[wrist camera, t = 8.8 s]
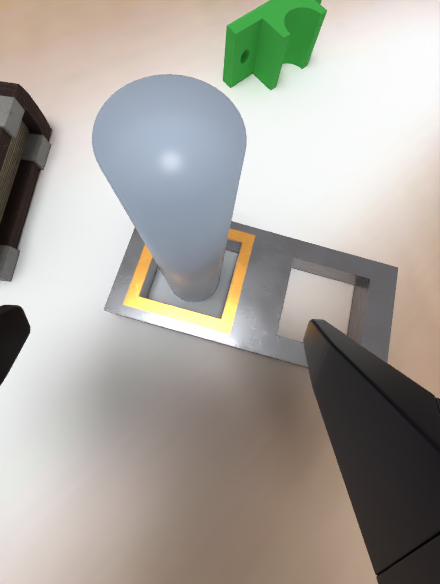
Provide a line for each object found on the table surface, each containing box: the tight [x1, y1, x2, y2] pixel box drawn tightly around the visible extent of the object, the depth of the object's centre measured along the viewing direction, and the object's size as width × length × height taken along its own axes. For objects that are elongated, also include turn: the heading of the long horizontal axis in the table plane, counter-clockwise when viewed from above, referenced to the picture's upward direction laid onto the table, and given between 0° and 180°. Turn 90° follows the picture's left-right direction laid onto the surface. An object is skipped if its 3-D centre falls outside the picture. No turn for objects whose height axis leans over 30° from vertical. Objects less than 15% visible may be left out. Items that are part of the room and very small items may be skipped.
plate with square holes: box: [104, 221, 398, 368], centre depth 19 cm, size 20×9×2 cm, turn 75°
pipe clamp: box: [223, 0, 327, 90], centre depth 23 cm, size 11×4×5 cm, turn 131°
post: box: [92, 74, 246, 302], centre depth 13 cm, size 4×4×14 cm
